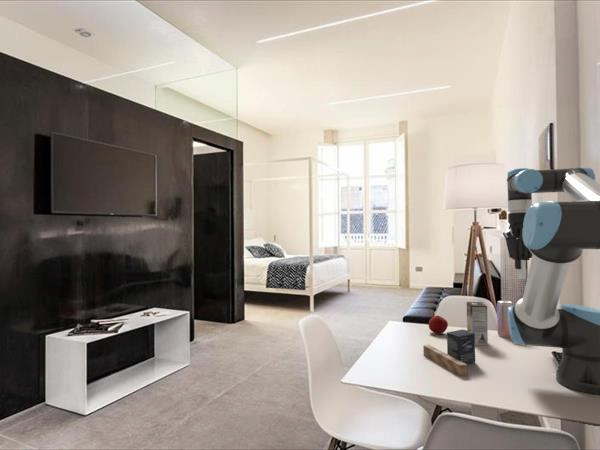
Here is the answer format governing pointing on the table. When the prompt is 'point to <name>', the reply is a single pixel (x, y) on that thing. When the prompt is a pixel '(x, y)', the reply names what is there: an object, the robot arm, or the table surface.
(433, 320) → the apple
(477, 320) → the coffee box
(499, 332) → the beverage can
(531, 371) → the table surface
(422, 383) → the table surface
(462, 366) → the board
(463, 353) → the box
